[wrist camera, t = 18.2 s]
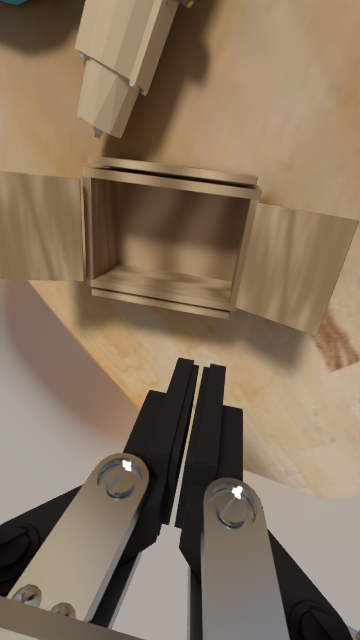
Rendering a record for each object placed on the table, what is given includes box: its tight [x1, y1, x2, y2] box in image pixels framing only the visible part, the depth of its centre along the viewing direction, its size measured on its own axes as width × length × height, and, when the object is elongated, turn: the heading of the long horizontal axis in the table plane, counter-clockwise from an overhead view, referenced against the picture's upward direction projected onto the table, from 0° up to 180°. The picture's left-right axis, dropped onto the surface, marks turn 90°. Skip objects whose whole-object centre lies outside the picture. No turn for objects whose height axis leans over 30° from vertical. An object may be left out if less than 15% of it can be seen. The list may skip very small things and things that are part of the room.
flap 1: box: [0, 171, 84, 281], centre depth 30 cm, size 1×10×8 cm
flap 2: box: [235, 203, 359, 336], centre depth 27 cm, size 1×10×8 cm
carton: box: [83, 156, 262, 319], centre depth 34 cm, size 17×14×8 cm
